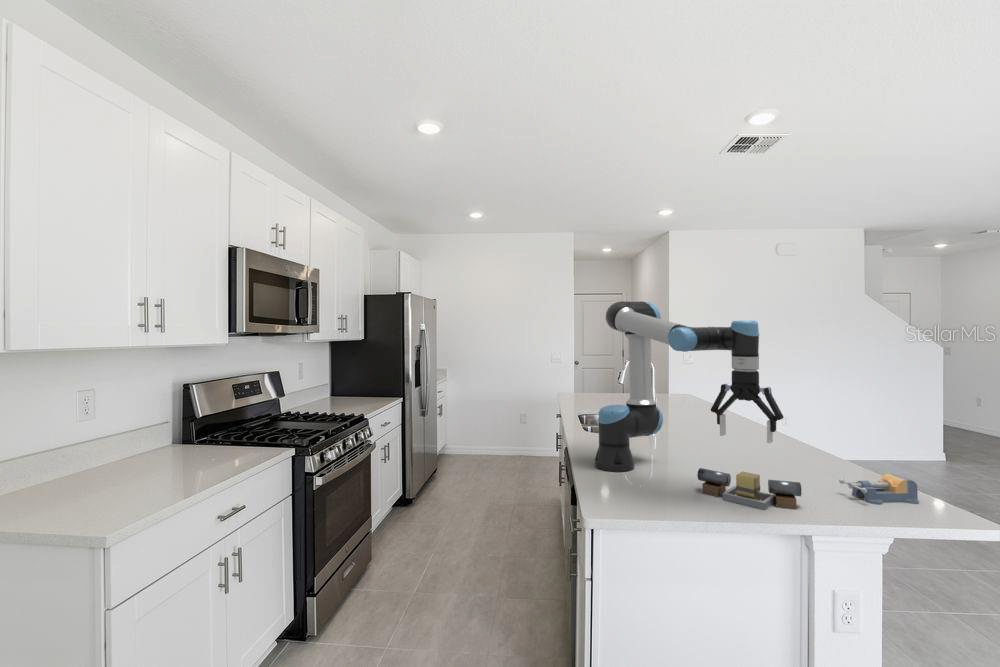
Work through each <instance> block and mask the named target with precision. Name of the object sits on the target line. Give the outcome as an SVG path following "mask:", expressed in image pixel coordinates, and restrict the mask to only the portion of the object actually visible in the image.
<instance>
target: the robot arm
mask: <svg viewBox="0 0 1000 667" xmlns="http://www.w3.org/2000/svg"><path fill="white" fill-rule="evenodd" d="M607 308H608V309H607V310H606V313H605V321H606V323H607V325H608V327H610V328H611V329H613V330H614V331H618V332H620V333H624V336H625V337H626V338H627V340H628V362H629V363H628V365H629V366H628V368H629V372H628V374H629V376H628V377H629V378H628V379H629V399H627V400H626V401H625V404H610V405H607V406H606V405H605V406H603V407H601V408H600V409H599V411H598V419H597V422H598V448H597V451H596V455H595V458H594V466H595V467H596V469H599V470H602V471H606V472H615V473H616V472H629V471H632V470H634V469H635V460H634V457H633V454H632V451H631V446H630V438H631V439H632V438H638V437H649V436H651V435H655V434H657V433H658V432H660V430H661V429H662V426H663V424H664V423H663V422H664V417H663V416H664V415H663V413H662V412H661V409H660V408H659V407H658V406H657V402H656V401H655V400H654V399H653V391H652V390H653V385H652V384H653V382H652V379H653V378H652V376H653V375H652V342H651V341H652V340H654V341H657V342H659V343H662V344H665V345H668V346H670V348H672V350H673V351H675V352H682V353H683V352H685V353H686V352H696V351H698V352H699V351H731V369H733V370H732V371H731V385H729V384H727V383H724V384H723V383H722V384H721V385H720V391H719V393H718V395H717V397H716V399H715V400H714V402H713V405H712V406H711V408H710V411H711V413H715V414H716V423H717V425H719V436H720V437H724V436H727V432H726V431H727V429H726V428H727V426H726V425H727V423H726V422H727V421H726V418H727V414H726V413H725V411H727V409H728V408H729V407H730V406H732V404H734V403H735V402H736V401H737V400H738V401H747V402H751V401H752V402H753V403H754V404H756V406H757V407H758V408H759V409H760V410H761V412H762V413H763V414H764V415H765V416H766V418H768V420H766V443H767V444H771V443H773V441H774V440H773V438H774V437H773V436H774V433H775V432H776V431H777V421H780V420H782V419H784V415H783V413H782V410H781V409H780V407H779V406H778V404H777V402H776V400H775V398H774V396H773V394H772V388H771V387H770V386H767V387H761V386H760V372H759V370H760V355H759V348H760V347H759V346H760V345H759V344H760V332H759V322H758V321H756V320H752V319H751V320H745V319H744V320H732V321H731V324H730V326H727V327H726V326H704V327H702V326H700V327H699V326H698V327H694V326H693V327H692V326H687V325H683V324H681V323H677V322H672V321H669V320H665V319H663V318H662V319H661V317H662V316H661V313H660V310H659V309H658V307H657V306H656V305H655V304H654V303H652V302H650V301H642V300H641V301H625V300H624V301H622V300H621V301H617V302H614V303H612V304H611V305H609V307H607ZM729 391H731V392H732V394H731V396H730V397H728V399H727V400H726V401H725V402H724V403H723V404H722V402H723V400H724V399H725V397H726V395H727V393H728V392H729ZM760 393H762V395H764V397H765V399H766V401H767V403H768V405H769V406H767V404H766V403H765V402H764V401H763V400H762V398H761V397H760V395H759V394H760ZM721 404H722V406H721ZM769 407H770V408H769ZM724 413H725V414H724Z"/></svg>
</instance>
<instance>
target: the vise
mask: <svg viewBox="0 0 1000 667" xmlns="http://www.w3.org/2000/svg"><path fill="white" fill-rule="evenodd" d="M838 482H839V484H841V485H842V484H843V485H844V484H846V485H847V486H848V488H849V489H852V491H851V496H852V497H856V498H864V502H866V503H869V504H872V505H883V504H884V503H907V504H911V505H918V503H919V504H920V500H919V498H918V494H919V493H918V484H917V483H916V482H915V481H914V480H911V479H909V478H906V477H903V476H901V475H897V474H895V473H885V474H883V476H881V479H880V480H879V479H878V481H877V482H876V481H874V482H870V481H869V480H858V481H852V482H848V481H846V480H845V479H844V478H839V479H838Z"/></svg>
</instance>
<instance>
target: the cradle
mask: <svg viewBox="0 0 1000 667" xmlns="http://www.w3.org/2000/svg"><path fill="white" fill-rule="evenodd" d="M722 500H723V501H726V502H729V503H734V504H739V505H742V506H747V507H751V508H754V509H759V510H763V511H766V510H768V508H770V507H771V506H772V505H773V504H775V496H774V495H773V494H771V493H769V492H765V491H763V492H762V491H760V501H758V500H754V499H750V498H745V497H741V496H737V494H736V485H733V486H732V487H730V488H729V489H726V491H725V492H724V493H723V494H722ZM762 500H763V501H762Z"/></svg>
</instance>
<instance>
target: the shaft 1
mask: <svg viewBox="0 0 1000 667" xmlns="http://www.w3.org/2000/svg"><path fill="white" fill-rule="evenodd" d="M696 476H697V479H698V480H699V481H700V482H703V483H702V484H701V486H702V494H706V495H710V496H714V497H718V498H719V497H720V496H723V493H724V492H725V491H727V487H730V485H731V481H732V476H731V474H730V473H729V472H728V473H727V472H723V471H717V470H714V469H712V470H711V469H708V468H703V467H699V468H698V470H697V475H696Z"/></svg>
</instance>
